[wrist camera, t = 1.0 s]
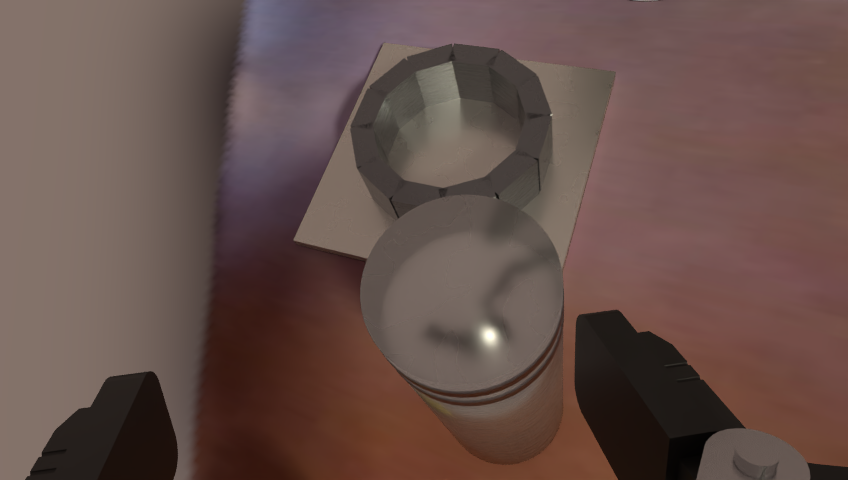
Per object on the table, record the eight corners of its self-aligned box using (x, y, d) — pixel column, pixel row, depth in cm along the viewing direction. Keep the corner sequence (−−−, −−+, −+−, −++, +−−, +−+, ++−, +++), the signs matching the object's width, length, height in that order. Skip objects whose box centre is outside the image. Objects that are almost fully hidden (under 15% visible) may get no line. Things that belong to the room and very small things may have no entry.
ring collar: (385, 48, 39) (370, 5, 36) (615, 78, 35) (620, 31, 32) (296, 244, 34) (270, 213, 31) (553, 307, 30) (552, 278, 27)
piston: (465, 334, 30) (399, 178, 18) (575, 364, 29) (585, 215, 16) (430, 443, 28) (329, 351, 16) (546, 482, 27) (533, 413, 14)
